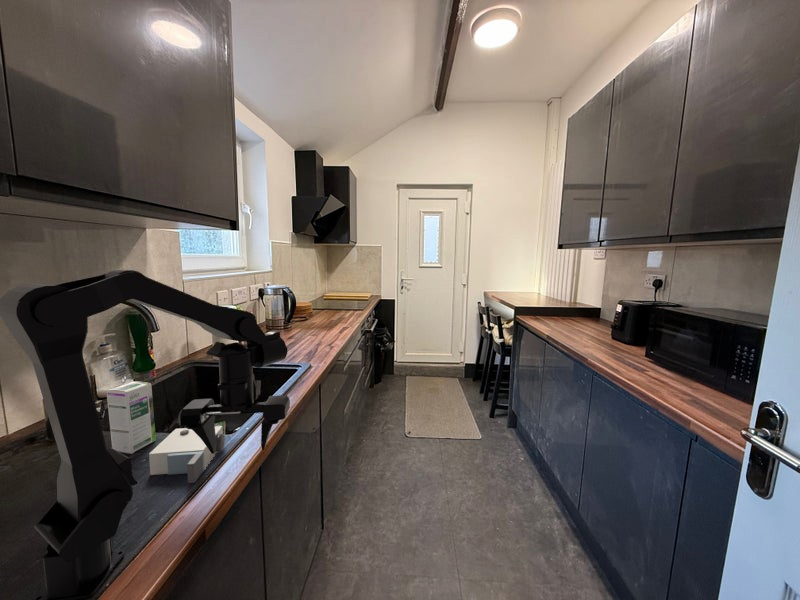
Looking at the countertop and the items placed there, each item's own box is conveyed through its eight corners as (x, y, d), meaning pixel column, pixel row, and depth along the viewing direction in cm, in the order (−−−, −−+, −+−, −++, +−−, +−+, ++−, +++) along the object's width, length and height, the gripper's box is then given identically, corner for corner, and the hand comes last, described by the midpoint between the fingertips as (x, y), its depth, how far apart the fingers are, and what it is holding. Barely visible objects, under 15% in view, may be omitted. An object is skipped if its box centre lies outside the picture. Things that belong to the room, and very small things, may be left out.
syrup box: (131, 454, 70) (127, 391, 69) (110, 451, 71) (105, 389, 70) (156, 440, 76) (152, 382, 74) (136, 437, 77) (132, 380, 75)
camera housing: (209, 470, 65) (208, 447, 65) (150, 475, 63) (148, 452, 63) (227, 443, 75) (227, 423, 74) (176, 447, 73) (175, 427, 73)
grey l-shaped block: (195, 483, 61) (193, 463, 60) (158, 486, 60) (156, 466, 59) (204, 469, 65) (203, 451, 64) (170, 472, 64) (169, 453, 63)
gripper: (293, 360, 70) (294, 427, 72) (202, 363, 67) (206, 433, 69) (283, 377, 59) (285, 456, 61) (174, 381, 56) (179, 464, 58)
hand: (239, 450), depth 62 cm, fingers open, 9 cm apart
